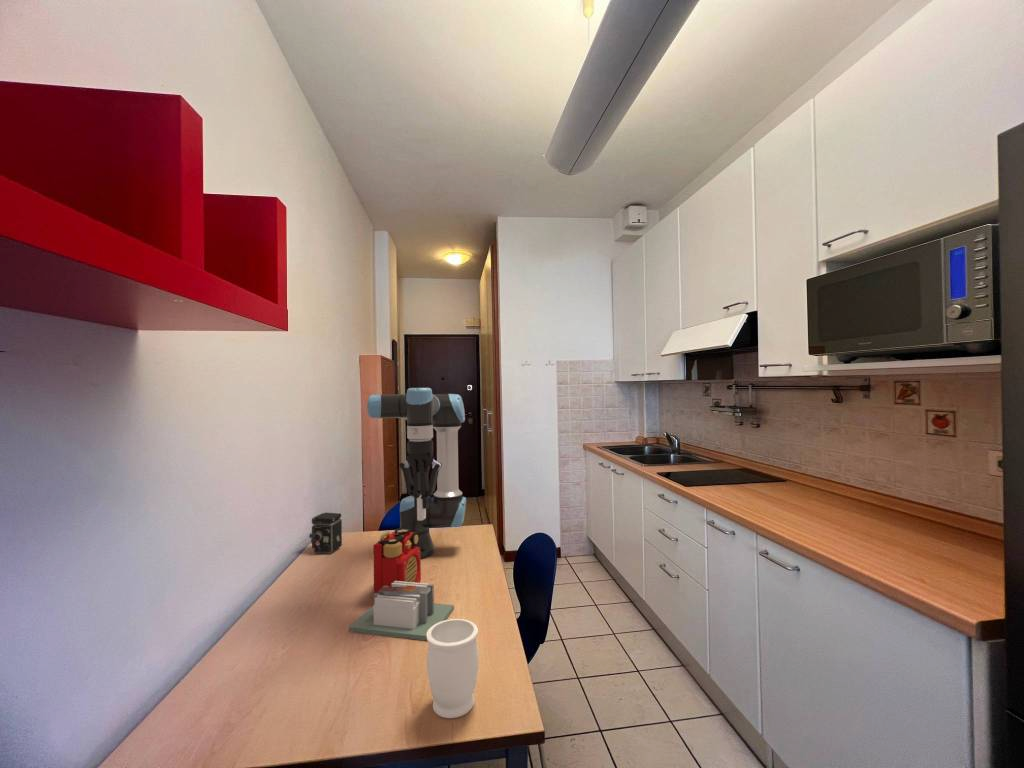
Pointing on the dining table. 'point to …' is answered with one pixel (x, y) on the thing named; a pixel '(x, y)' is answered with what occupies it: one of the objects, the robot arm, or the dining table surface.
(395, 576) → the radio
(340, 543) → the camera
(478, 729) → the dining table surface
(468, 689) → the jar
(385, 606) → the heatsink
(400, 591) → the strap
